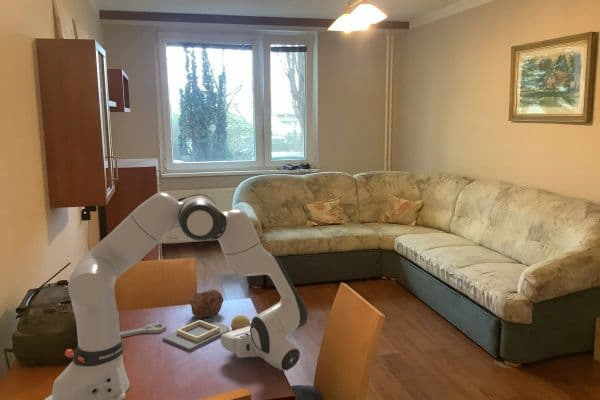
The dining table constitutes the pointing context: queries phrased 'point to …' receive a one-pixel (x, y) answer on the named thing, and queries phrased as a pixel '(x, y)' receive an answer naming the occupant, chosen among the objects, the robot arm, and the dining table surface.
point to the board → (196, 334)
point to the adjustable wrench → (144, 330)
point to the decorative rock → (206, 303)
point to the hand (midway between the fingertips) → (239, 326)
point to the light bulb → (240, 322)
